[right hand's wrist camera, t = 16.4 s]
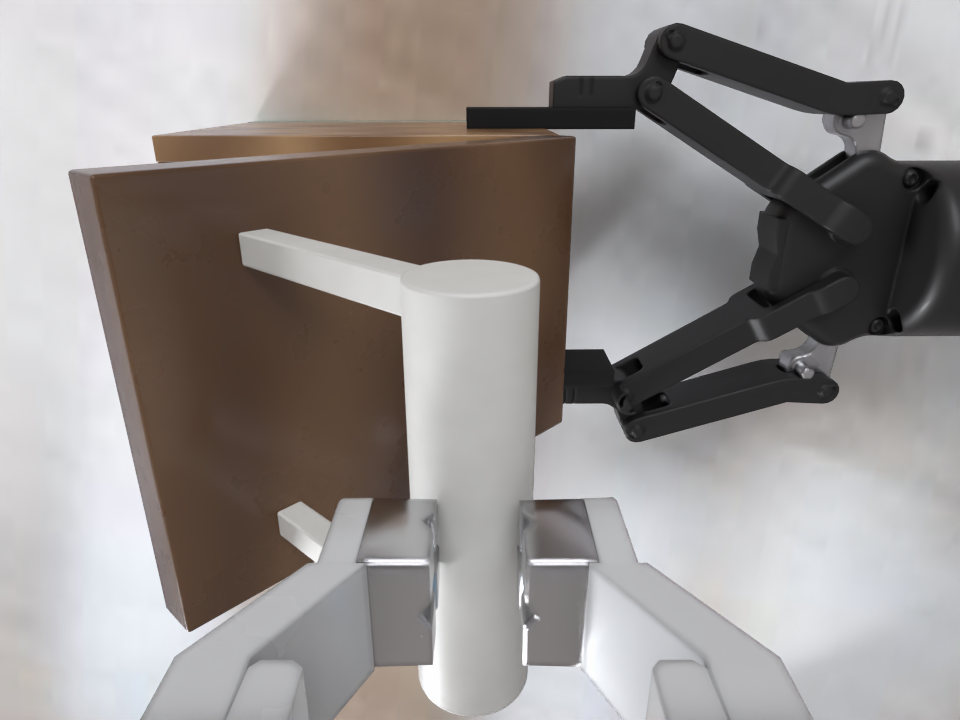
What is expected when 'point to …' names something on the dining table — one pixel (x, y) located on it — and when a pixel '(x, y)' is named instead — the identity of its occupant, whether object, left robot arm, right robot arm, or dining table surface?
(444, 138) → the chest
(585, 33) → the dining table surface
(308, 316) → the lid
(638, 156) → the dining table surface
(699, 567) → the dining table surface
